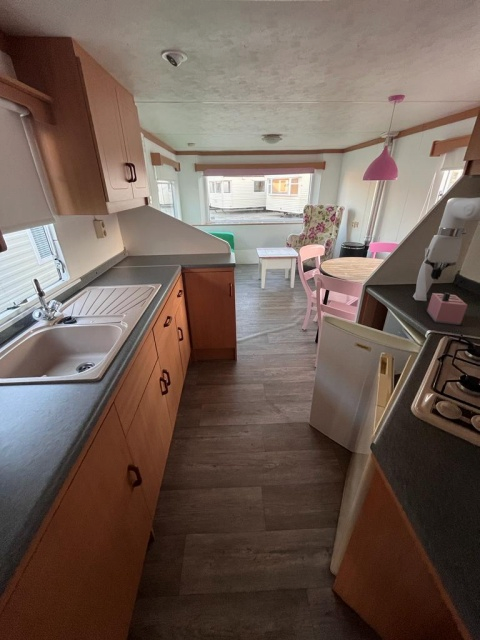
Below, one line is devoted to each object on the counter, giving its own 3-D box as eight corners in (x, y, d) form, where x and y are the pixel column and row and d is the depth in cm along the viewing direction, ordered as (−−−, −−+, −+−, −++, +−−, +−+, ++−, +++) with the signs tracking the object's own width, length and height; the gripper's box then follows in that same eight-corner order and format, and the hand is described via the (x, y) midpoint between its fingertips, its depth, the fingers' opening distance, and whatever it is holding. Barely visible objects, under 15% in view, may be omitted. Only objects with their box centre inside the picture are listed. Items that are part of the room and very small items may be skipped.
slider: (447, 299, 113) (449, 292, 112) (449, 301, 111) (451, 294, 110) (441, 299, 114) (443, 292, 112) (443, 300, 112) (445, 293, 111)
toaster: (449, 313, 123) (455, 294, 119) (460, 325, 112) (468, 305, 108) (426, 310, 126) (432, 292, 122) (435, 322, 114) (441, 302, 110)
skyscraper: (430, 302, 136) (448, 246, 124) (413, 300, 138) (429, 245, 126) (425, 297, 143) (441, 243, 131) (409, 295, 145) (424, 243, 133)
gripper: (468, 232, 104) (452, 277, 112) (424, 230, 108) (412, 274, 116) (476, 235, 97) (459, 282, 105) (430, 233, 102) (416, 279, 110)
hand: (434, 278), depth 111 cm, fingers closed
